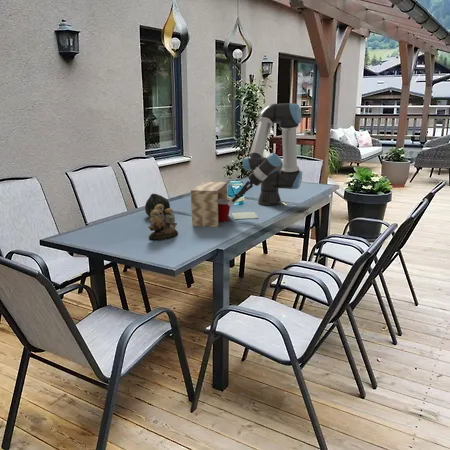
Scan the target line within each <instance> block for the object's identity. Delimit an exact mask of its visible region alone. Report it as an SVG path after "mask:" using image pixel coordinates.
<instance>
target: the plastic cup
mask: <svg viewBox="0 0 450 450" xmlns="http://www.w3.org/2000/svg"><path fill="white" fill-rule="evenodd" d="M230 200H231V199H228V198H227V199H218V223H226V222H228V220H229V214H230V210H231V209H230V208H231V207H230V206H229V205H228V204H227V203H228V202H229V201H230Z"/></svg>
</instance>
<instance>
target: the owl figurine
mask: <svg viewBox="0 0 450 450" xmlns="http://www.w3.org/2000/svg"><path fill="white" fill-rule="evenodd" d="M163 209H164V206H163V205H162V204H158V205H156V206H155V208H154V210H153V211H151V213H150V216H151V217H150V216H149V222H150V225H149V226H147V228H148V229H149V230H150V231H152V232H151V233H150V234H149V235H148V239H150V240H153V241H164V240H170V239H173V238H176V237H177V236H178V235H179V232H178V230H177V229H176V226H177V225H178V223H177V222H176V217H175V213H174V212H173V211H174V210H173V209H172V208H171V207H170V208H167V209H165V210H164V212H163Z"/></svg>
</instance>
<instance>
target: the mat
mask: <svg viewBox="0 0 450 450" xmlns="http://www.w3.org/2000/svg"><path fill="white" fill-rule="evenodd" d="M231 215H232V217H233V219H234V221H235V220H236V219H239V220H255V219H256V220H257V218H258V219H259V217H258V215H257V214H256V213H255V212H254V211H247V212H245V211H243V212H231ZM236 221H237V220H236Z"/></svg>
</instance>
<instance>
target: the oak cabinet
mask: <svg viewBox="0 0 450 450" xmlns="http://www.w3.org/2000/svg"><path fill="white" fill-rule="evenodd" d="M218 199H228V182H226V181H225V182H224V181H202V182H200V184H198V185H197V186H195V187H194V188H192V189H191V190H190V201H191V224H192V225H191V226H192V227H209V228H210V227H213V228H218V227H219V221H218Z"/></svg>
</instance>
